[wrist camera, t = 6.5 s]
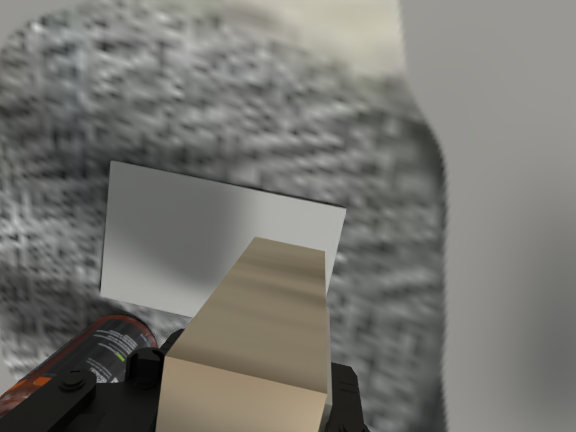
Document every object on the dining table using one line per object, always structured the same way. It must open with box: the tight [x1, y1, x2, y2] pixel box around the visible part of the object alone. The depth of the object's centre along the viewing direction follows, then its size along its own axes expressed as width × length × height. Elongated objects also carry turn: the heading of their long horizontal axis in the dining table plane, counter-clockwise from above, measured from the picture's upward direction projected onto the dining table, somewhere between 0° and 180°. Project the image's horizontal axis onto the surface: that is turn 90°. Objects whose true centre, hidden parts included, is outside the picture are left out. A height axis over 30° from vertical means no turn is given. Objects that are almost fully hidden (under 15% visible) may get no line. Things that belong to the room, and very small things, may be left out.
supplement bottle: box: [0, 315, 158, 418], centre depth 21 cm, size 6×6×11 cm
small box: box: [155, 237, 327, 432], centre depth 13 cm, size 8×4×10 cm, turn 170°
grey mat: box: [100, 161, 346, 318], centre depth 24 cm, size 10×16×1 cm, turn 80°
